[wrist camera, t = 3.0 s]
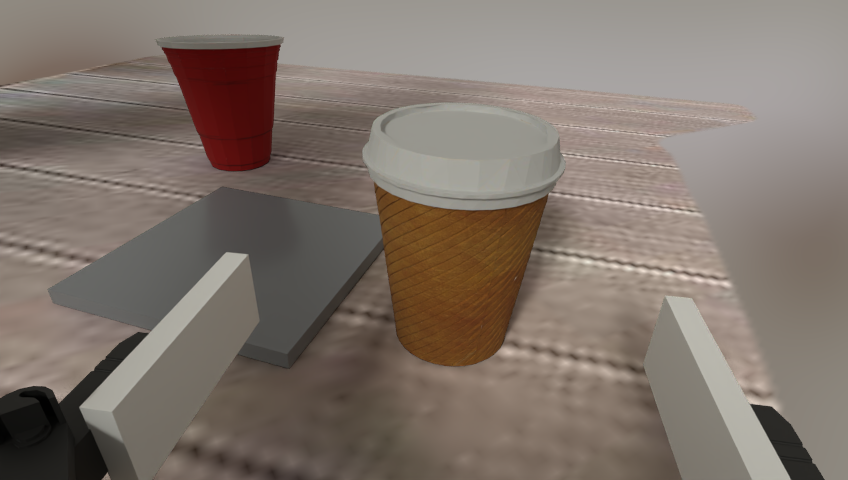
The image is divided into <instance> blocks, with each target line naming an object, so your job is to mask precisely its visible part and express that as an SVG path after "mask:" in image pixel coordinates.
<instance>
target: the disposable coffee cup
mask: <svg viewBox="0 0 848 480" xmlns="http://www.w3.org/2000/svg"><path fill="white" fill-rule="evenodd" d="M362 153H363V162H364V164H365V165H366V166H367V168H368V171H369V174H370V177H371V178H372V180H373V181H374V186H375V193H376V199H377V205H378V212H379V218H380V225H381V232H382V237H383V245H384V251H385V257H386V264H387V272H388V277H389V284H390V291H391V296H392V304H393V310H394V318H395V323H396V332H397V336H398V338H399V341H400V342H401V343H402V345H403V346H404V347H405V348H406V349H407V350H408V351H409V352H410V353H412V354H413V355H415V356H417V357H418V358H420V359H422V360H425V361H428V362H431V363H434V364H439V365H444V366H466V365H471V364H476V363H478V362H481V361H483V360H485V359H488V358H489V357H491V356H492V355H494V354H495V353H496V352H497V351H498V350H499V349H500V347H501V345H502V343H503V341H504V337H505V333H506V330H507V327H508V324H509V320H510V317H511V314H512V311H513V308H514V305H515V301H516V298H517V295H518V292H519V289H520V286H521V282H522V279H523V276H524V272H525V269H526V266H527V263H528V260H529V257H530V253H531V250H532V247H533V244H534V240H535V238H536V234H537V230H538V228H539V225H540V221H541V217H542V214H543V211H544V208H545V205H546V202H547V198H548V194H549V193H550V192H551V191H552V190H553V188H554V187H555V185H556V182H557V181H558V180H559V178H560V177H561V176H562V175H563V173H564V170H565V163H566V162H565V160H564V157H563V155H562V154H561V153H560V140H559V134H558V131H557V130H556V128H555V127H554V126H553V125H551V124H550V123H548V122H547V121H545V120H543V119H541V118H539V117H537V116H534V115H531V114H528V113H524V112H521V111H517V110H513V109H509V108H504V107H498V106H492V105H484V104H475V103H451V102H449V103H427V104H418V105H411V106H405V107H401V108H397V109H394V110H391V111H389V112H387V113H385V114H383V115H381V116H379V117H377V118H376V119H375V120H374V122H373V125H372V128H371V133H370V138H369V141H368V142H367V143H366V144H365V146H364V148H363V150H362Z"/></svg>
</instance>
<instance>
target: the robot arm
mask: <svg viewBox="0 0 848 480" xmlns="http://www.w3.org/2000/svg"><path fill="white" fill-rule="evenodd" d="M259 321H260V320H259V314H258V308H257V302H256V296H255V290H254V285H253V279H252V273H251V267H250V261H249V255H248V254H240V253H230V252H226V253H225V254H224V255H223V256H222V257H221V258H220V259H219V260H218V261H217V262H216V263H215V265H214V266H213V267H212V268H211V269H210V270H209V271H208V272H207V273H206V274H205V275H204V276H203V277H202V278H201V279H200V280H199V281H198V282H197V284H196V285H195V286H194V287H193V288H192V289H191V290H190V291H189V292H188V293H187V294H186V295H185V296H184V297H183V298H182V299H181V300H180V301H179V303H178V304H177V305H176V306H175V307H174V308H173V309H172V310H171V311H170V312H169V313H168V314H167V315H166V316H165V317H164V318H163V319H162V320H161V321H160V323H159V324H158V325H157V326H156V327H155V328H154V329H153V330H152V331H151V332H150V333H142V332H138V333H136V334H134V335H133V336H131V337H129V338H128V339H126V340H124V341H122V342H121V343H119V344H118V345H117V346H116V347H115V348H114V349H113V350H112V351H111V352H110V353H109V354H108V355H107V356H106V359H105V360H102V361H101V362H100V363H99V364H98V365H97V366H96V367H95V369H94V371H91V372H90V373H89V374H88V375H87V376H86V377H85V378H84V379H83V380H82V381H81V382H80V383H79V384H78V385H77V386H76V387H75V388H74V389H73V390H72V391H71V392H70V393H69V394H68V395H67V396H66V397H65V398H64V399H63V400H62V401H61V402H60V403H59V404H58V401H57V399H56V397H55V395H54V393H53V391H52V390H51V389H49V388H47V387H43V386H32V387H27V388H22V389H19V390H16V391H14V392H11V393H9V394H7V395H5V396H3V397H2V398H0V480H102V479H103V477H104V476H105V475H106V473H107V472H108V474H109V476H110V479H111V480H152V479H153V478H154V476H155V475H156V473H157V472H158V470H159V469H160V467H161V466H162V464H163V463H164V461H165V460H166V458H167V457H168V455H169V454H170V453H171V451H172V450H173V448H174V447H175V445H176V444H177V442H178V441H179V439H180V438H181V436H182V435H183V433H184V432H185V430H186V429H187V427H188V426H189V424H190V423H191V421H192V420H193V419H194V417H195V416H196V414H197V413H198V411H199V410H200V408H201V407H202V405H203V404H204V402H205V401H206V399H207V398H208V396H209V395H210V393H211V392H212V390H213V389H214V388H215V386H216V385H217V383H218V382H219V380H220V379H221V377H222V376H223V374H224V373H225V371H226V370H227V368H228V367H229V365H230V364H231V362H232V361H233V359H234V358H235V356H236V355H237V354H238V352H239V351H240V349H241V348H242V346H243V345H244V343H245V342H246V340H247V339H248V337H249V336H250V334H251V333H252V331H253V330H254V328H255V327H256V325H257V324H258V323H259ZM643 366H644V369H645V372H646V375H647V378H648V381H649V384H650V387H651V390H652V393H653V396H654V399H655V402H656V405H657V407H658V410H659V413H660V416H661V419H662V422H663V425H664V428H665V431H666V434H667V437H668V440H669V443H670V446H671V449H672V452H673V455H674V458H675V461H676V464H677V467H678V470H679V472H680V475H681V478H682V480H824V478H823V476H822V475H821V473H820V472H819V470H818V468H817V467H816V465H815V464H813V463H812V458H811V457H810V455H809V454H808V452H807V450H806V449H805V448H803V446H802V442H801V441H800V439H799V437H798V436H797V434H796V432H795V431H794V429H793V427H792V426H791V424H790V423H789V422H787V421H786V420H785V419H784V418H783V417H782V416H781V415H780V414H779V413H778V412H777V411H776V410H775V409H774V408H772V407H770V406H762V405H753V404H749V402H748V400H747V398H746V396H745V395H744V393H743V391H742V389H741V387H740V385H739V384H738V382H737V380H736V378H735V376H734V374H733V373H732V371H731V369H730V367H729V365H728V364H727V362H726V360H725V358H724V356H723V354H722V353H721V351H720V349H719V347H718V345H717V343H716V342H715V340H714V338H713V336H712V334H711V332H710V331H709V329H708V327H707V325H706V323H705V322H704V320H703V318H702V316H701V314H700V312H699V311H698V309H697V307H696V305H695V303H694V301H693V300H692V298H684V297H674V296H665V297H664V300H663V303H662V307H661V310H660V313H659V316H658V319H657V322H656V325H655V328H654V332H653V335H652V338H651V341H650V344H649V347H648V350H647V353H646V356H645V360H644V363H643Z"/></svg>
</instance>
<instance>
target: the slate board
mask: <svg viewBox="0 0 848 480" xmlns="http://www.w3.org/2000/svg"><path fill="white" fill-rule="evenodd" d="M383 248H384V245H383V237H382V232H381V225H380V218H379V215H376V214H370V213H365V212H359V211H354V210H348V209H343V208H337V207H332V206H326V205H321V204H315V203H309V202H304V201H298V200H293V199H287V198H282V197H276V196H271V195H265V194H260V193H254V192H249V191H243V190H238V189H232V188H227V187H221V188H219V189H217V190H216V191H214V192H212V193H210V194H209V195H207V196H205V197H204V198H202V199H200V200H199V201H197V202H195V203H193V204H192V205H190V206H188V207H187V208H185V209H183V210H182V211H180V212H178V213H176V214H175V215H173V216H171V217H170V218H168V219H166V220H165V221H163V222H161V223H159V224H158V225H156V226H154V227H153V228H151V229H149V230H148V231H146V232H144V233H142V234H141V235H139V236H137V237H136V238H134V239H132V240H131V241H129V242H127V243H126V244H124V245H122V246H120V247H119V248H117V249H115V250H114V251H112V252H110V253H109V254H107V255H105V256H103V257H102V258H100V259H98V260H97V261H95V262H93V263H92V264H90V265H88V266H86V267H85V268H83V269H81V270H80V271H78V272H76V273H75V274H73V275H71V276H69V277H68V278H66V279H64V280H63V281H61V282H59V283H58V284H56V285H54V286H52V287H51V288H49V289H48V292H49V294H50V297H51V299H52V301H53V303H55V304H58V305H62V306H66V307H69V308H73V309H76V310H80V311H84V312H87V313H91V314H94V315H98V316H102V317H105V318H109V319H112V320H116V321H120V322H123V323H127V324H130V325H134V326H138V327H141V328H145V329H148V330H153V329H154V328H155V327H156V326H157V325H158V324H159V323H160V321H161V320H162V319H163V318H164V317H165V316H166V315H167V314H168V313H169V312H170V311H171V310H172V309H173V308H174V307H175V306H176V305H177V304H178V303H179V301H180V300H181V299H182V298H183V297H184V296H185V295H186V294H187V293H188V292H189V291H190V290H191V289H192V288H193V287H194V286H195V285H196V284H197V282H198V281H199V280H200V279H201V278H202V277H203V276H204V275H205V274H206V273H207V272H208V271H209V270H210V269H211V268H212V267H213V266H214V265H215V263H216V262H217V261H218V260H219V259H220V258H221V257H222V256H223V255H224V254H225V253H226V252H230V253H240V254H248V255H249V261H250V267H251V273H252V279H253V285H254V290H255V296H256V302H257V308H258V314H259V320H260V321H259V323H258V324H257V325H256V327H255V328H254V330H253V331H252V333H251V334H250V336H249V337H248V339H247V340H246V342H245V343H244V345H243V346H242V348H241V349H240V351H239V352H238V355H242V356H246V357H249V358H253V359H256V360H260V361H264V362H267V363H271V364H274V365H278V366H282V367H285V368H290V367H291V366H292V364H293V363H294V362H295V361H296V359H297V358H298V357H299V355H300V354H301V353H302V352H303V350H304V349H305V348H306V347H307V345H308V344H309V343H310V341H311V340H312V339H313V338H314V336H315V335H316V334H317V333H318V331H319V330H320V329H321V327H322V326H323V325H324V324H325V322H326V321H327V320H328V319H329V317H330V316H331V315H332V313H333V312H334V311H335V310H336V308H337V307H338V306H339V304H340V303H341V302H342V301H343V299H344V298H345V297H346V296H347V294H348V293H349V292H350V290H351V289H352V288H353V287H354V285H355V284H356V283H357V282H358V280H359V279H360V278H361V276H362V275H363V274H364V273H365V271H366V270H367V269H368V268H369V266H370V265H371V264H372V262H373V261H374V260H375V259H376V257H377V256H378V255H379V253H380V252H381V251H382V250H383Z"/></svg>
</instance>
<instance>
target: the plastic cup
mask: <svg viewBox="0 0 848 480" xmlns="http://www.w3.org/2000/svg"><path fill="white" fill-rule="evenodd" d="M283 39H284V38H283V37H279V36H268V35H197V36H178V37H167V38H160V39H156V42H157V44H158V45H159V46H160V47H162V50H163V51H164V53H165V54H166V56H167V59H168V62H169V63H170V64H171V67H172V69H173V72H174V74H175V76H176V77H177V80H178V83H179V85H180V88H181V90H182V93H183V96H184V98H185V101H186V104H187V106H188V109H189V112H190V114H191V117H192V120H193V122H194V125H195V127H196V130H197V132H198V134H199V135H200V138H201V141H202V143H203V146H204V149H205V151H206V154H207V157H208V159H209V160H210V162H211V164H212V166H213V167H215V168H217V169H220V170H227V171H243V170H249V169H254V168H257V167H260V166H263V165H265V164H266V163H268V162H269V159H270V154H271V146H272V128H273V122H274V101H275V80H276V71H277V60H278V56H279V50H280V47H281V46H280V44H282V43H283Z"/></svg>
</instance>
